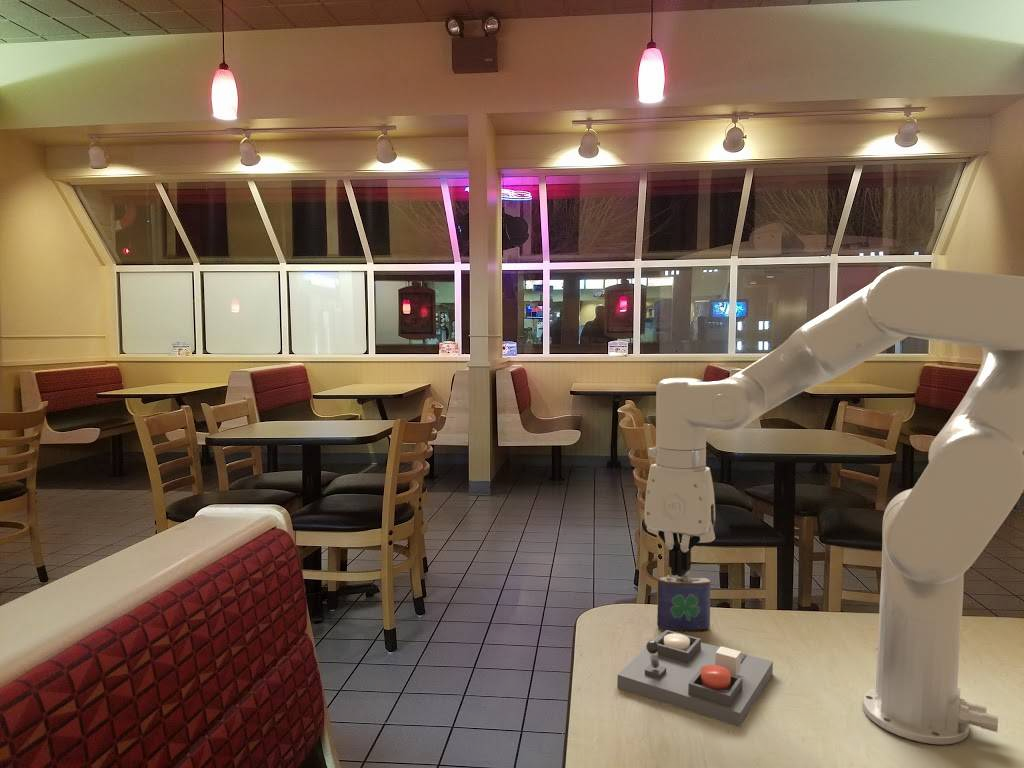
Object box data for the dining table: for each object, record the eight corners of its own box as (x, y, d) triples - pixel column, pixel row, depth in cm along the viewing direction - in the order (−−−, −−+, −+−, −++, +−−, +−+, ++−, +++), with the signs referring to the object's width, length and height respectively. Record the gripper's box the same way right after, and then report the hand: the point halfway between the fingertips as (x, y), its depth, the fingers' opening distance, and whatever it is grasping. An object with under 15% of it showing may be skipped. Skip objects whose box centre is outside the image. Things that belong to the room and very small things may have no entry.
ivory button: (693, 647, 110) (693, 637, 110) (684, 657, 107) (684, 647, 107) (669, 640, 113) (669, 631, 112) (659, 650, 109) (660, 640, 109)
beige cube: (740, 670, 103) (740, 651, 102) (735, 677, 101) (736, 658, 100) (720, 665, 104) (720, 646, 104) (715, 672, 102) (715, 652, 102)
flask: (708, 625, 124) (709, 567, 122) (712, 633, 121) (713, 573, 120) (655, 625, 124) (656, 566, 123) (658, 632, 121) (659, 572, 120)
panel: (772, 673, 107) (773, 651, 106) (739, 727, 93) (740, 701, 92) (661, 643, 117) (662, 622, 116) (617, 687, 103) (617, 664, 102)
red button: (734, 680, 98) (734, 669, 98) (725, 693, 95) (725, 682, 95) (706, 672, 100) (706, 662, 100) (696, 684, 97) (697, 673, 97)
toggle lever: (663, 664, 103) (659, 639, 101) (659, 672, 102) (655, 648, 100) (652, 660, 104) (648, 636, 102) (647, 669, 103) (643, 645, 101)
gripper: (625, 457, 108) (625, 571, 110) (721, 467, 100) (719, 591, 101) (645, 449, 114) (645, 558, 116) (736, 458, 106) (734, 575, 107)
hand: (679, 573), depth 109 cm, fingers closed
